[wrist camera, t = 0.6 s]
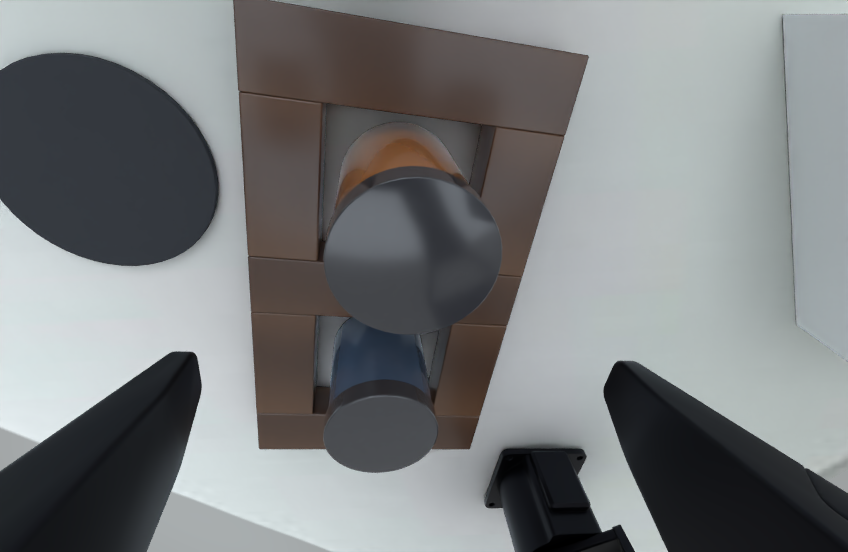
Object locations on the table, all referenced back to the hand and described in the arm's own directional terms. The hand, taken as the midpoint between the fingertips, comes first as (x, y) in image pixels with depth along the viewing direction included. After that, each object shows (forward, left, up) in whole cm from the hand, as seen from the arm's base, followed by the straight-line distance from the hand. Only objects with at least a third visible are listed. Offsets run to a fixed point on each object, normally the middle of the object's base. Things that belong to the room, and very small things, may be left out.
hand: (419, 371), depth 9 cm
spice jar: (-10, 0, -13) cm, 16 cm away
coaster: (-1, +12, -13) cm, 18 cm away
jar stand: (-5, 0, -13) cm, 14 cm away
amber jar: (0, 0, -13) cm, 13 cm away
